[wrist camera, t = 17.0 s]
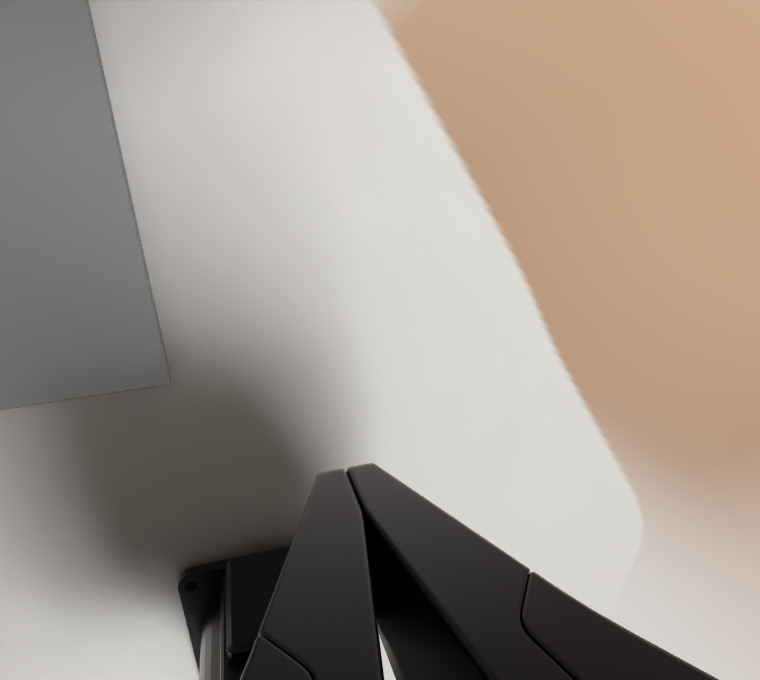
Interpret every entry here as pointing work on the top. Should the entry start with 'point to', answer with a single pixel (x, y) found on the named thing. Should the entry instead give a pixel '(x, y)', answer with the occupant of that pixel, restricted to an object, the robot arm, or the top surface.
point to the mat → (66, 220)
